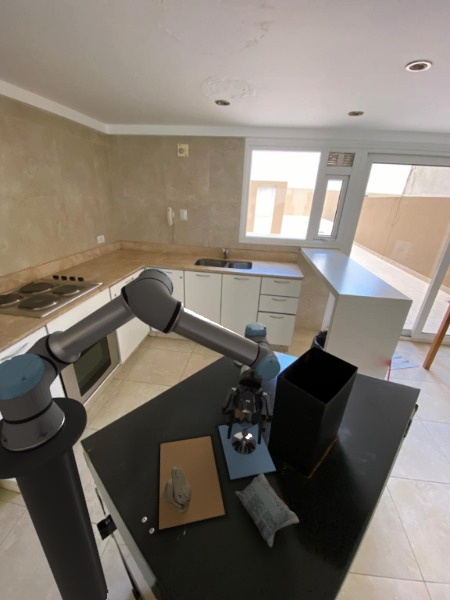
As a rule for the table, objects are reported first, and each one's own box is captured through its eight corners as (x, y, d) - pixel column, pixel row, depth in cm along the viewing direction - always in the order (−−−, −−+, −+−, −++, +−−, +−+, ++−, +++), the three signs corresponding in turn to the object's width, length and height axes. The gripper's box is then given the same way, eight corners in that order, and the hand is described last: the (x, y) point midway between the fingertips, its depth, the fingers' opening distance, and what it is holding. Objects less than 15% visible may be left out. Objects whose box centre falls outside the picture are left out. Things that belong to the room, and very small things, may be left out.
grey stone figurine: (166, 522, 53) (164, 491, 50) (163, 484, 60) (161, 455, 57) (192, 514, 55) (192, 483, 51) (187, 478, 62) (186, 449, 58)
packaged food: (261, 478, 63) (263, 464, 61) (298, 526, 54) (301, 512, 52) (233, 498, 58) (234, 484, 57) (267, 555, 49) (270, 541, 47)
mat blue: (218, 426, 77) (218, 426, 77) (255, 421, 79) (255, 420, 79) (230, 479, 62) (230, 479, 62) (275, 470, 65) (276, 470, 65)
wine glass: (237, 460, 67) (240, 417, 61) (225, 435, 74) (227, 395, 68) (263, 450, 70) (268, 408, 64) (249, 427, 76) (253, 388, 71)
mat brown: (160, 444, 70) (160, 443, 70) (210, 436, 73) (210, 435, 73) (159, 529, 52) (158, 528, 52) (224, 514, 55) (224, 513, 55)
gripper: (279, 393, 85) (282, 455, 64) (221, 384, 88) (205, 441, 67) (282, 374, 83) (285, 433, 61) (222, 366, 85) (206, 420, 64)
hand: (244, 437), depth 64 cm, fingers open, 7 cm apart
